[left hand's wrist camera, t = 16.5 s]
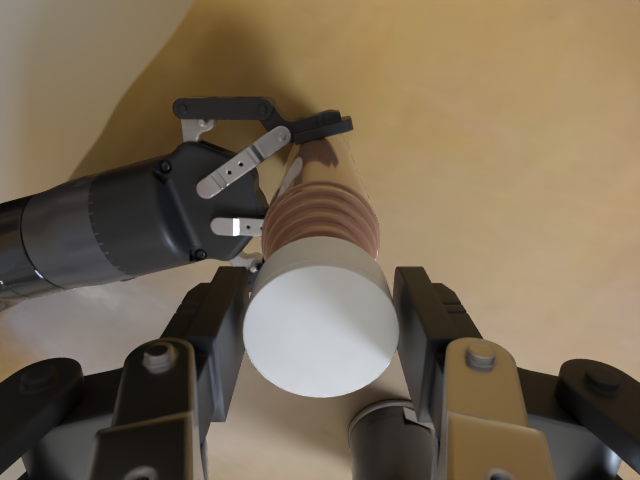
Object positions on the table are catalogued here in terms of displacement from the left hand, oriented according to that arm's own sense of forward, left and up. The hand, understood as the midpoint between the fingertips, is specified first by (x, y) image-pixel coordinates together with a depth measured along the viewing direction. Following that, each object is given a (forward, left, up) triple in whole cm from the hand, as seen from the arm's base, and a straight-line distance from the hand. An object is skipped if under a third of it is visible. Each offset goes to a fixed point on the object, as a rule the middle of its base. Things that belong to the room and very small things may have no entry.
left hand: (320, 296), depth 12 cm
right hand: (0, -3, -16) cm, 17 cm away
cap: (0, 0, +2) cm, 2 cm away
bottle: (0, 0, -22) cm, 22 cm away
